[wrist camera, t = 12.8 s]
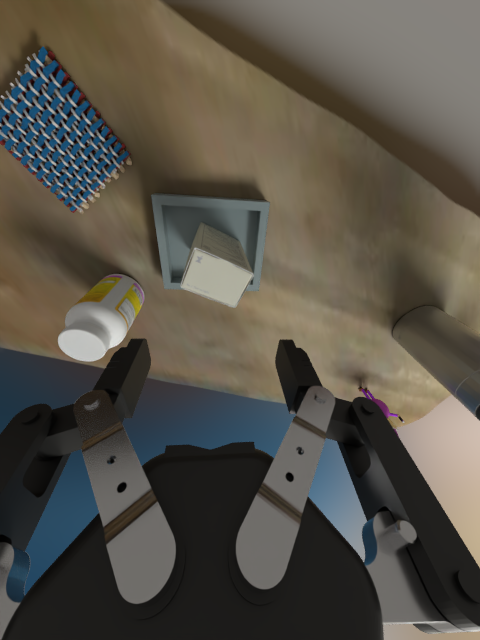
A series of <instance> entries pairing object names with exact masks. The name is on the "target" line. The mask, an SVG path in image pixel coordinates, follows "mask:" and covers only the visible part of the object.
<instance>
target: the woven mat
mask: <svg viewBox="0 0 480 640" xmlns="http://www.w3.org/2000/svg"><path fill="white" fill-rule="evenodd" d="M38 51H39V54H38V57H37V56H36V54H35V53H34V54H32V55H33V57H34V59H35V60H32V59H31V58H30V57H29V56H28V57H27V60H28V61H30V62H31V63H30V67H29V66H28V64H25V66H26V68H25V69H24V70H25V73H24V75H23V74H22V73H21V72H20V71H18V72H17V74H18V75H19V76H21V77H20V82H19V81H18V79H17V78H16V77H15V81H16V83H17V84H18V86H16V87H15V86H14V85H13V84H12V83H11V84H10V85H11V86H12V88H11V90H12V92H11V95H10V93H9V92H8V91H5V92H6V94H7V95H8V97H9V98H8V97H6V98H5V97H4V96H2V95H1V98H3V99H4V105H3V103H2V102H1V101H0V105H1V107H2V109H1V110H0V144H1V145H5V148H6V149H7V150H8V151H9V152H10V153H11V154H12V155H13V156H14V157H15V158H16V159H17V160H19V161H20V160H21V159H22V160H21V163H22V164H23V166H24V167H26V168H28V167H29V166H30V168H29V169H28V170H29V171H30V172H31V173H32V174H33V175H35V174H36V173H37V176H36V177H37V179H38V180H39V181H40V182H42V181H43V180H45V182H43V185H44V186H45V187H46V188H49V187H50V186H51V190H50V191H51V192H52V193H55V194H56V195H57V194H58V196H56V197H57V198H58V199H59V200H60V201H62V200H63V199H64V198H65V199H66V200H65V201H64V204H65V205H66V206H67V207H69V206H70V205H72V207H71V208H70V211H71V212H73V213H74V212H75V211H76V210H77V211H79V212H80V213H81V214H83V213H84V211H83V210H82V209H81V208H80V207H81V206H82V207H83V208H85V209H87V208H89V204H88V203H86V202H87V200H88V199H89V200H91V201H92V202H93V203H94V202H95V201H96V200H95V198H94V197H93V196H92V194H94V196H95V197H100V193H99V191H98V190H99V189H98V188H99V187H100V188H101V189H103V188H105V185H104V182H105V181H107V182H108V183H109V182H110V181H111V178H110V177H111V176H113V177H114V178H115V179H117V178H119V174H118V173H117V172H116V171H117V168H119V169H120V170H121V171H122V172H124V171H125V169H124V168H123V166H122V165H123V163H124V161H125V162H126V164H128V165H131V164H132V161H131V158H130V157H129V156H130V152H129V151H126V152H125V151H124V148H125V147H126V146H125V145H124V143H123V144H120V143H118V142H117V141H118V140H119V138H118V137H117V136H115V135H114V136H113V135H112V134H111V133H112V132H113V131H112V129H111V128H107V126H106V127H105V126H104V125H105V124H106V122H105V121H104V120H103V119H99V117H100V113H99V112H98V111H94V110H93V109H91V107H92V106H93V105H92V104H91V103H90V102H89V101H85V100H84V98H85V97H86V96H85V95H84V94H83V93H82V92H81V93H80V92H79V91H78V90H76V89H77V88H78V86H77V85H76V84H75V83H74V82H72V81H70V82H69V78H70V76H69V74H68V73H67V72H65V73H64V72H63V71H62V70H61V68H62V66H61V65H60V63H59V62H58V61H57V62H56V61H55V60H54V59H55V55H54V54H53V52H52V51H49V53H48V52H47V51H46V49H45V48H44V47H42V48H41V49H40V50H38ZM47 54H48V56H47ZM40 75H41V77H39V76H40ZM55 76H56V79H54V77H55ZM33 84H34V87H33V86H32V85H33ZM72 95H73V96H72ZM25 96H26V98H25ZM71 96H72V98H70V97H71ZM50 104H51V106H49V105H50ZM79 104H80V106H79V107H78V105H79ZM28 113H29V114H28ZM58 113H59V114H58ZM86 113H87V117H86V116H85V114H86ZM8 119H9V121H8ZM37 121H38V122H37ZM50 122H52V124H50ZM65 122H66V124H65ZM17 128H18V129H17ZM1 129H2V130H1ZM30 129H31V130H30ZM45 129H46V130H45ZM44 130H45V131H44ZM86 130H87V131H88V132H87V133H86V132H85V131H86ZM100 130H101V131H102V132H101V134H100V133H99V131H100ZM10 137H11V139H10ZM24 137H26V138H24ZM79 138H81V141H80V140H79ZM66 139H67V140H66ZM92 139H93V140H94V141H92ZM106 139H108V140H107V141H106ZM60 145H61V147H59V146H60ZM72 146H74V147H73V148H72ZM87 146H88V148H87ZM113 146H114V147H115V148H114V149H112V147H113ZM99 148H101V149H99ZM40 152H42V153H41V154H40ZM26 153H27V154H26ZM67 153H68V155H67ZM93 153H94V154H95V156H93ZM119 153H120V155H121V156H118V154H119ZM105 154H107V156H105ZM79 155H81V156H79ZM116 157H117V158H116ZM73 160H75V163H74V162H73ZM86 160H87V161H88V162H87V165H86V164H85V162H86ZM99 160H100V161H101V163H100V162H99ZM61 161H62V162H61ZM111 161H113V162H114V164H112V163H111ZM121 164H122V165H121ZM55 166H56V169H55V168H54V167H55ZM67 167H69V168H68V170H67V169H66V168H67ZM80 167H82V169H79V168H80ZM92 167H93V169H94V171H92V170H91V169H92ZM105 168H106V169H107V171H106V170H105ZM62 173H63V174H64V175H63V176H62V175H61V174H62ZM48 174H49V175H48ZM74 174H75V175H76V177H74V176H73V175H74ZM86 174H87V176H88V178H87V176H86ZM99 175H101V176H100V178H99V179H98V176H99ZM68 180H69V182H70V183H69V182H68ZM55 181H56V182H55ZM81 181H82V183H81ZM80 183H81V184H80ZM86 187H87V188H88V190H86ZM63 188H64V189H63ZM75 188H76V189H75ZM62 189H63V190H62ZM81 193H83V194H84V195H83V196H81V195H80V194H81ZM68 194H69V195H70V196H69V195H68ZM74 200H76V201H77V202H75V201H74Z"/></svg>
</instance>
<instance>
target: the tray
mask: <svg viewBox="0 0 480 640" xmlns="http://www.w3.org/2000/svg"><path fill="white" fill-rule="evenodd" d="M151 198H152V205H153V212H154V219H155V226H156V233H157V240H158V247H159V254H160V261H161V268H162V275H163V282H164V289H183V288H181V287H180V284H181V281H182V277H183V273H184V269H185V266H186V263H187V259H188V256H189V252H190V249H191V246H192V243H193V240H194V238H195V235H196V232H197V230H198V228H199V225H200V223H201V222H202V223H204V224H206V225H209V226H211V227H213V228H215V229H217V230H219V231H221V232H223V233H225V234H226V235H228V236H230V237H232V238H234V239H236V240H238V241H239V242H240V243H241V245H242V248H243V250H244V253H245V255H246V257H247V260H248V262H249V265H250V267H251V269H252V272H253V274H254V276H253V278H252V280H251V282H250V284H249V285H248V287H247V289H246V290H245V291H259V285H260V277H261V269H262V261H263V253H264V245H265V237H266V229H267V221H268V213H269V205H270V202H268V201H266V200H254V199H239V198H224V197H209V196H194V195H179V194H163V193H155V194H152V195H151Z"/></svg>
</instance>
